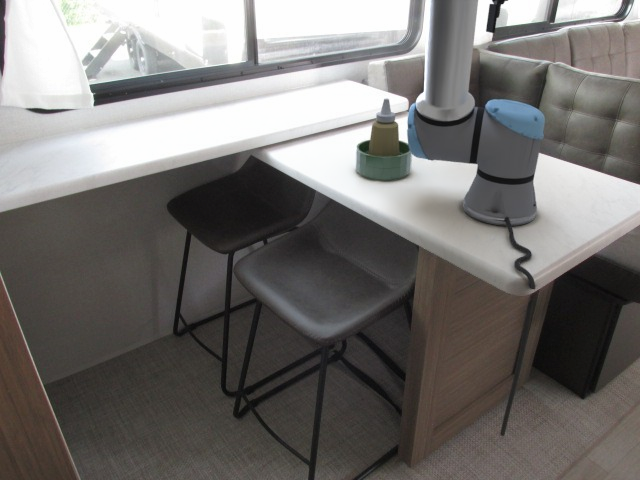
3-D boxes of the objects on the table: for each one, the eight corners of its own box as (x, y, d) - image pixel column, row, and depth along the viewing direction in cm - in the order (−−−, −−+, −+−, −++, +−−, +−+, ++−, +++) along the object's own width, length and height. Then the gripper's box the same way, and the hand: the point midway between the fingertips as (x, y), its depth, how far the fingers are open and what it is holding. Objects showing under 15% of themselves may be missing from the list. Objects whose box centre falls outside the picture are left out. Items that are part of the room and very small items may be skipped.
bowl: (420, 177, 130) (422, 153, 127) (369, 185, 126) (369, 160, 123) (395, 158, 142) (396, 136, 138) (347, 165, 138) (348, 142, 135)
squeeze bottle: (400, 163, 136) (404, 95, 127) (396, 175, 129) (401, 104, 120) (370, 161, 138) (372, 94, 129) (365, 172, 131) (367, 102, 122)
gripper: (513, -65, 125) (500, 29, 135) (423, -64, 118) (415, 34, 129) (534, -65, 119) (518, 32, 129) (439, -65, 112) (430, 38, 122)
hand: (467, 34), depth 129 cm, fingers open, 13 cm apart
